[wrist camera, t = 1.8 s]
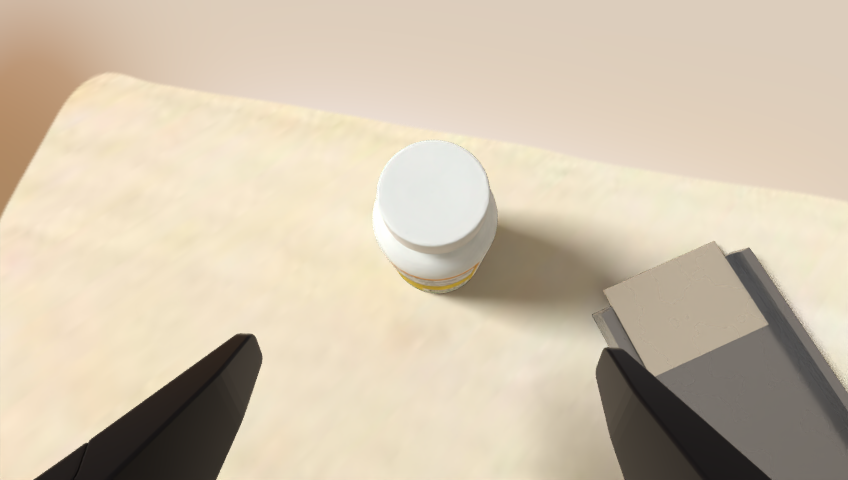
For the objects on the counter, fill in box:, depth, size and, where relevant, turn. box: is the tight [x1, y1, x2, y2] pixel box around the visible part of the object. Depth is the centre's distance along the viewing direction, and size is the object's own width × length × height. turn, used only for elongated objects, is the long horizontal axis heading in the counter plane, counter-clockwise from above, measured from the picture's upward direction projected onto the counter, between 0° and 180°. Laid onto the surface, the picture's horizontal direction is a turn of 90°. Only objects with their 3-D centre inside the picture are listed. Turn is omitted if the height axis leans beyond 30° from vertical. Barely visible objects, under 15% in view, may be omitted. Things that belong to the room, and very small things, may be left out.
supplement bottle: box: [373, 140, 498, 293], centre depth 17 cm, size 5×5×10 cm
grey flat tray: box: [592, 241, 848, 480], centre depth 18 cm, size 15×9×1 cm, turn 23°
